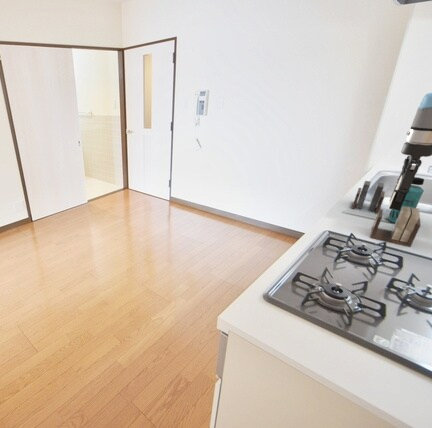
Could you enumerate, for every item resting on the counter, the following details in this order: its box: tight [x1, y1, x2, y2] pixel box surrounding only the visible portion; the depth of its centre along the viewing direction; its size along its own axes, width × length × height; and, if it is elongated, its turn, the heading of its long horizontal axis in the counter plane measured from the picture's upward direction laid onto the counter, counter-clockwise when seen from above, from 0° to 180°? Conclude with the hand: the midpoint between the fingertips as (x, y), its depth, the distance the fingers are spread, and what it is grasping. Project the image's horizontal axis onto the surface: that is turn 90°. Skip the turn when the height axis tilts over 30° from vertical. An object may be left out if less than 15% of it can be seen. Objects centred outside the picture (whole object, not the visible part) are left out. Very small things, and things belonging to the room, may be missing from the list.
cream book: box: [389, 175, 403, 210], centre depth 100 cm, size 2×8×11 cm, turn 138°
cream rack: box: [369, 206, 422, 248], centre depth 104 cm, size 11×9×12 cm
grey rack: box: [351, 180, 386, 215], centre depth 125 cm, size 9×9×13 cm
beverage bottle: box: [388, 176, 425, 224], centre depth 111 cm, size 6×7×20 cm
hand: (394, 205), depth 102 cm, fingers closed on cream book, 8 cm apart
